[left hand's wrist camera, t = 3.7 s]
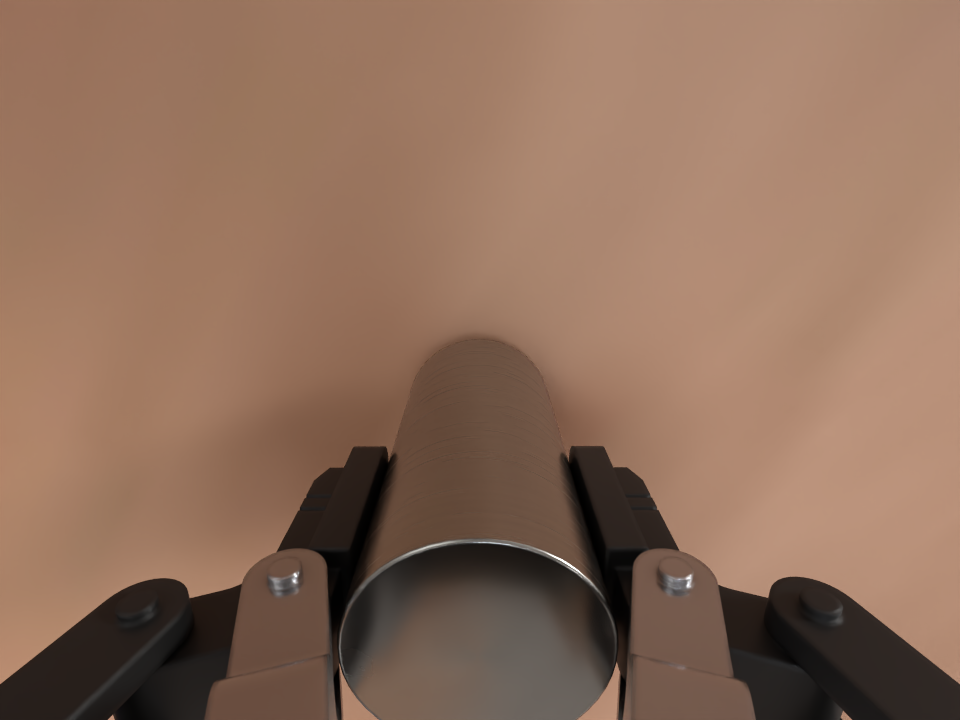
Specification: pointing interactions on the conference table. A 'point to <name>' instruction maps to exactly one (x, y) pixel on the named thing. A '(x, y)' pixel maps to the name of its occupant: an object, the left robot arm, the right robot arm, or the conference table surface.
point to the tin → (478, 557)
